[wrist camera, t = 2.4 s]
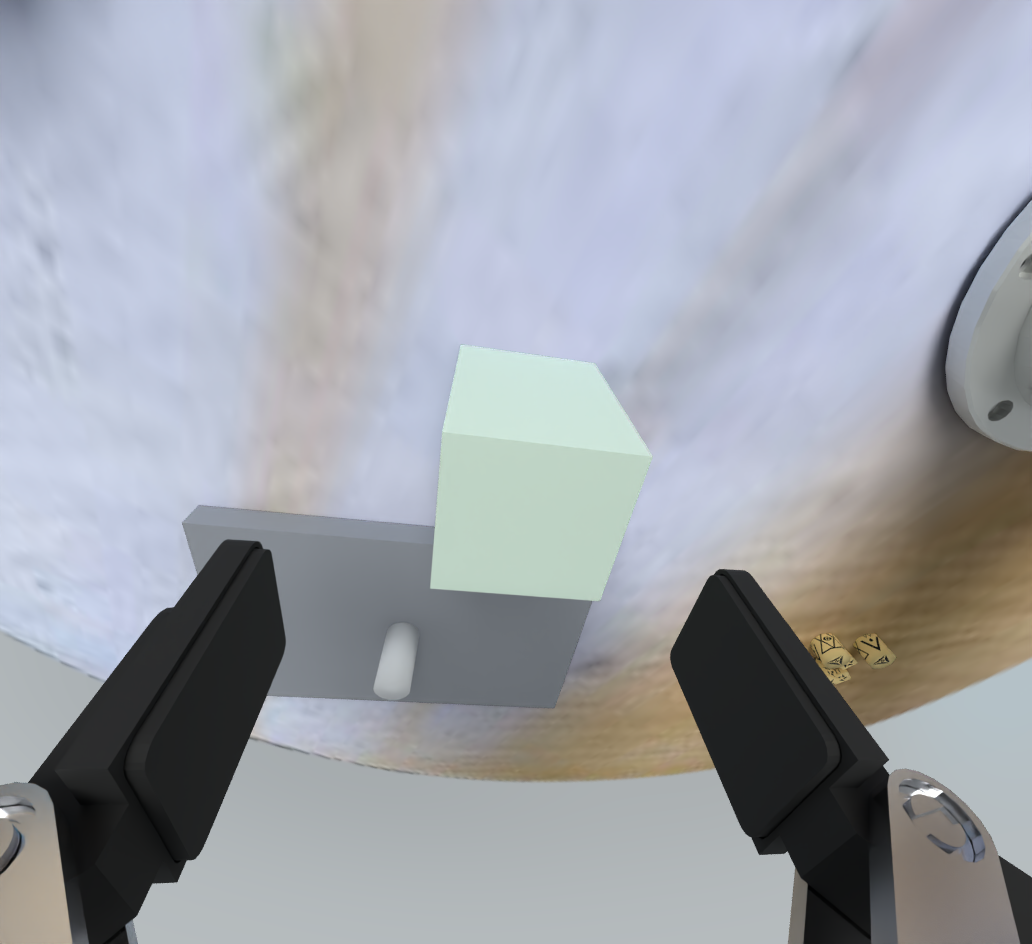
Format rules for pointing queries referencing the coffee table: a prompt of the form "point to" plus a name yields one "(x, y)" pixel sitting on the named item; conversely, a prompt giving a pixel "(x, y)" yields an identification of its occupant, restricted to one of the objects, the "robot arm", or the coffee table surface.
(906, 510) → the coffee table surface
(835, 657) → the dice set
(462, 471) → the block
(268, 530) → the pin plate
